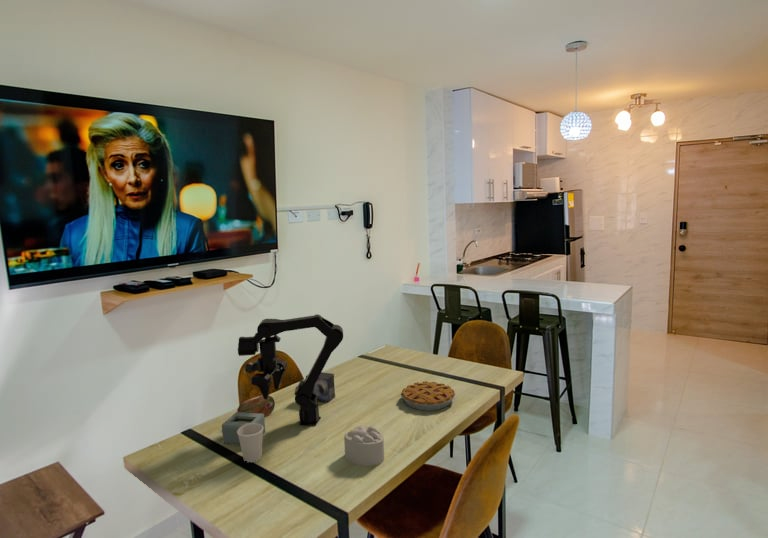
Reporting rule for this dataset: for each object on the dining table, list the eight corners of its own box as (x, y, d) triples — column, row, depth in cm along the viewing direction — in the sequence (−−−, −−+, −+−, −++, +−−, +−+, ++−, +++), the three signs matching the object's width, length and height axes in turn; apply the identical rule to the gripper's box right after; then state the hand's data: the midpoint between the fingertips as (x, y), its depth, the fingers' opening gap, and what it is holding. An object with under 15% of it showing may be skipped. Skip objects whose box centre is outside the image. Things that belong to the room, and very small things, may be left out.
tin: (240, 426, 177) (238, 405, 176) (236, 424, 180) (235, 402, 178) (275, 413, 188) (274, 393, 186) (271, 410, 190) (270, 390, 189)
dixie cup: (251, 467, 149) (249, 437, 148) (233, 460, 154) (231, 431, 152) (271, 454, 156) (268, 426, 155) (253, 448, 161) (251, 421, 159)
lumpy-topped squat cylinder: (362, 443, 161) (361, 419, 160) (392, 456, 153) (391, 430, 152) (340, 456, 154) (339, 431, 152) (370, 470, 145) (369, 444, 144)
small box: (306, 400, 199) (304, 376, 198) (314, 393, 205) (312, 370, 204) (328, 403, 195) (327, 378, 194) (335, 396, 201) (334, 373, 200)
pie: (429, 418, 179) (428, 405, 178) (390, 401, 195) (389, 389, 194) (466, 400, 193) (466, 388, 192) (427, 386, 209) (426, 375, 208)
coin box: (265, 432, 172) (263, 413, 171) (252, 445, 163) (250, 426, 162) (237, 430, 175) (236, 412, 174) (223, 443, 165) (221, 424, 164)
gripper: (259, 345, 185) (262, 383, 187) (235, 361, 167) (239, 403, 169) (286, 346, 182) (289, 384, 185) (264, 362, 164) (268, 405, 167)
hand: (271, 394), depth 176 cm, fingers open, 9 cm apart
